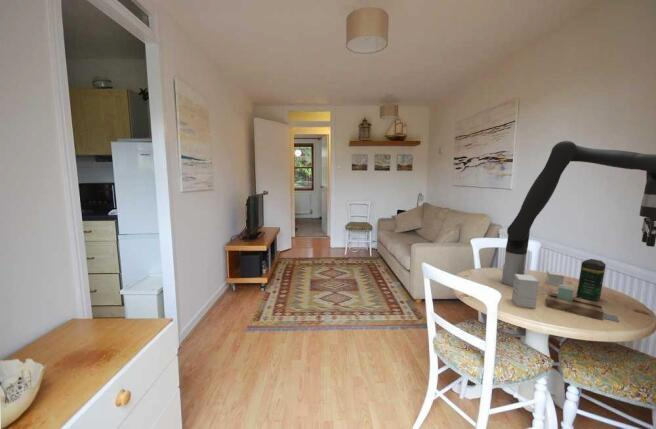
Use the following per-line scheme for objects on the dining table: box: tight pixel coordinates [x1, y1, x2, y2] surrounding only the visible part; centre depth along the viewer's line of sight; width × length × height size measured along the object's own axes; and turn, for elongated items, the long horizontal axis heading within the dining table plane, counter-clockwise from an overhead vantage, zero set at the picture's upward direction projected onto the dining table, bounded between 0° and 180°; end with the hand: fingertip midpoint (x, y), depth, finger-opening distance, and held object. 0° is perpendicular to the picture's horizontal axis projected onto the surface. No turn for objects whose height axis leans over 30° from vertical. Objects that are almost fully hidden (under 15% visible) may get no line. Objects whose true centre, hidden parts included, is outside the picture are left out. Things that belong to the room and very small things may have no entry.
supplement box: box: [511, 274, 539, 309], centre depth 125 cm, size 7×7×13 cm
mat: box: [603, 312, 620, 323], centre depth 115 cm, size 4×6×1 cm
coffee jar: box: [576, 258, 607, 302], centre depth 132 cm, size 10×8×19 cm
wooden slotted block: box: [545, 291, 605, 321], centre depth 122 cm, size 18×11×4 cm, turn 50°
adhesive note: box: [545, 270, 565, 287], centre depth 150 cm, size 6×6×6 cm
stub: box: [557, 284, 575, 301], centre depth 123 cm, size 5×2×9 cm, turn 50°
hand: (647, 244), depth 117 cm, fingers open, 8 cm apart
